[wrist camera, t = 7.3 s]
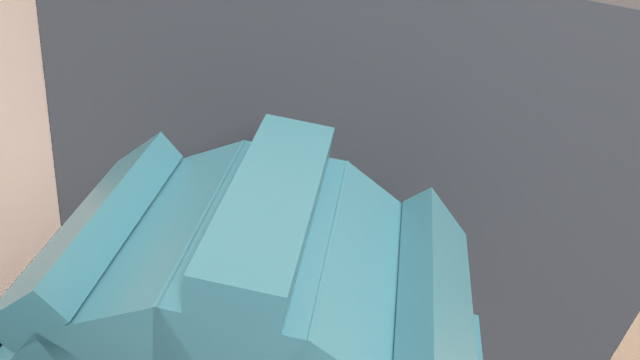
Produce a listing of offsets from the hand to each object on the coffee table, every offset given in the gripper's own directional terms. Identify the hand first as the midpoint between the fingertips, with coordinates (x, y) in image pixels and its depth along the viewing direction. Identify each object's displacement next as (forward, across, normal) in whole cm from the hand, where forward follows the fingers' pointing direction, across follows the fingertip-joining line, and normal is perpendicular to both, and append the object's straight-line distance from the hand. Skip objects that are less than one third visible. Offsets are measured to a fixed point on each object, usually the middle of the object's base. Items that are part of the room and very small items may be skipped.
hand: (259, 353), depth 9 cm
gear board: (+5, -1, +4) cm, 6 cm away
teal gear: (+1, 0, 0) cm, 1 cm away
